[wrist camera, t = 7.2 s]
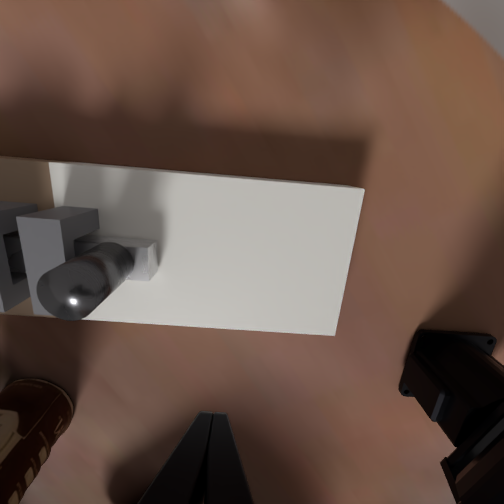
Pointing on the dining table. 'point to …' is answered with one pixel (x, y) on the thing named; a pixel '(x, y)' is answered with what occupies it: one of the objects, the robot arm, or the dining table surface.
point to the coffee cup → (28, 432)
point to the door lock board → (186, 243)
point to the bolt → (88, 272)
